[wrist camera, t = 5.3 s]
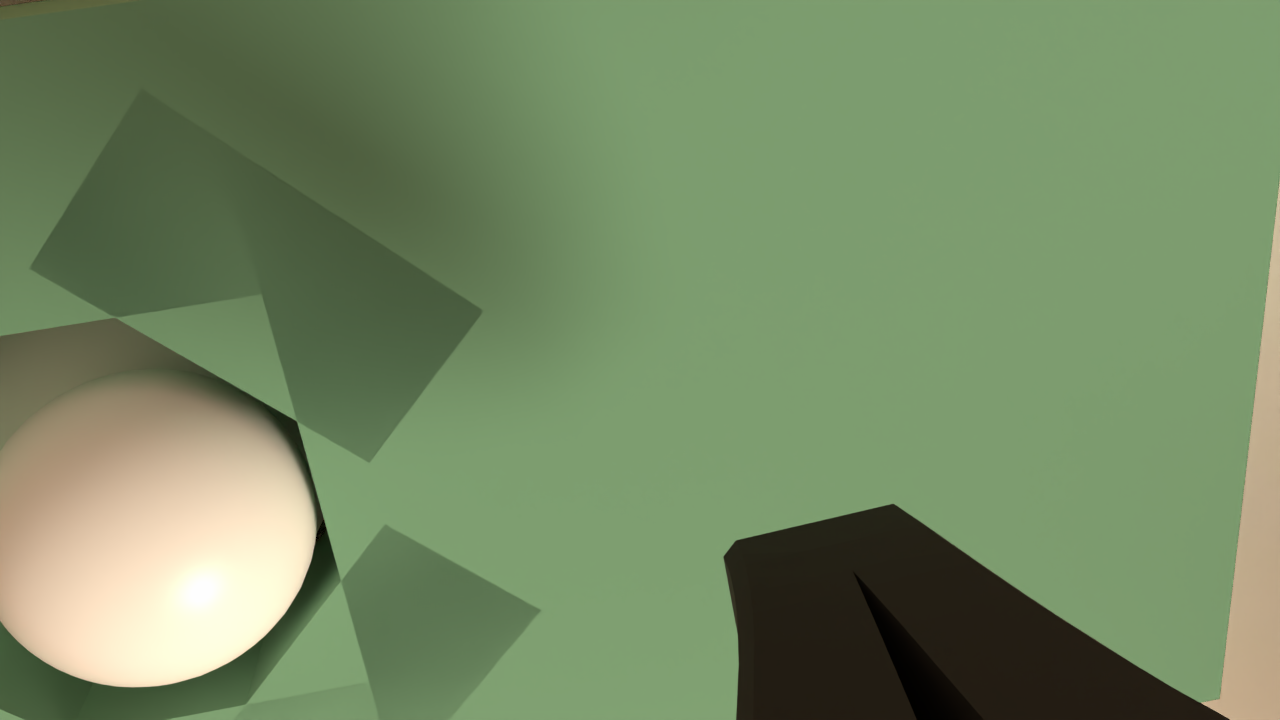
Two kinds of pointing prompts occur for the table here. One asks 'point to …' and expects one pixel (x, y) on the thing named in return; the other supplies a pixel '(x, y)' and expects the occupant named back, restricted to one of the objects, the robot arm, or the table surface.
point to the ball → (151, 527)
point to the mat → (655, 313)
